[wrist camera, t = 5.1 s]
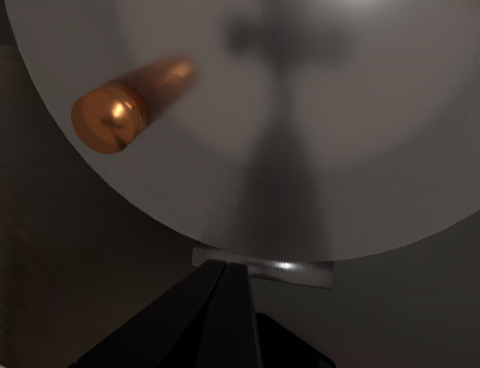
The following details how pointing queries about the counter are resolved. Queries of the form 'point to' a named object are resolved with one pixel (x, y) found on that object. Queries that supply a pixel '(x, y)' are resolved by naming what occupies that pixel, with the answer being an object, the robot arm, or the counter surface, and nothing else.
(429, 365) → the counter surface
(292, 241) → the lid
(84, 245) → the counter surface
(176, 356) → the robot arm
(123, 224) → the counter surface
